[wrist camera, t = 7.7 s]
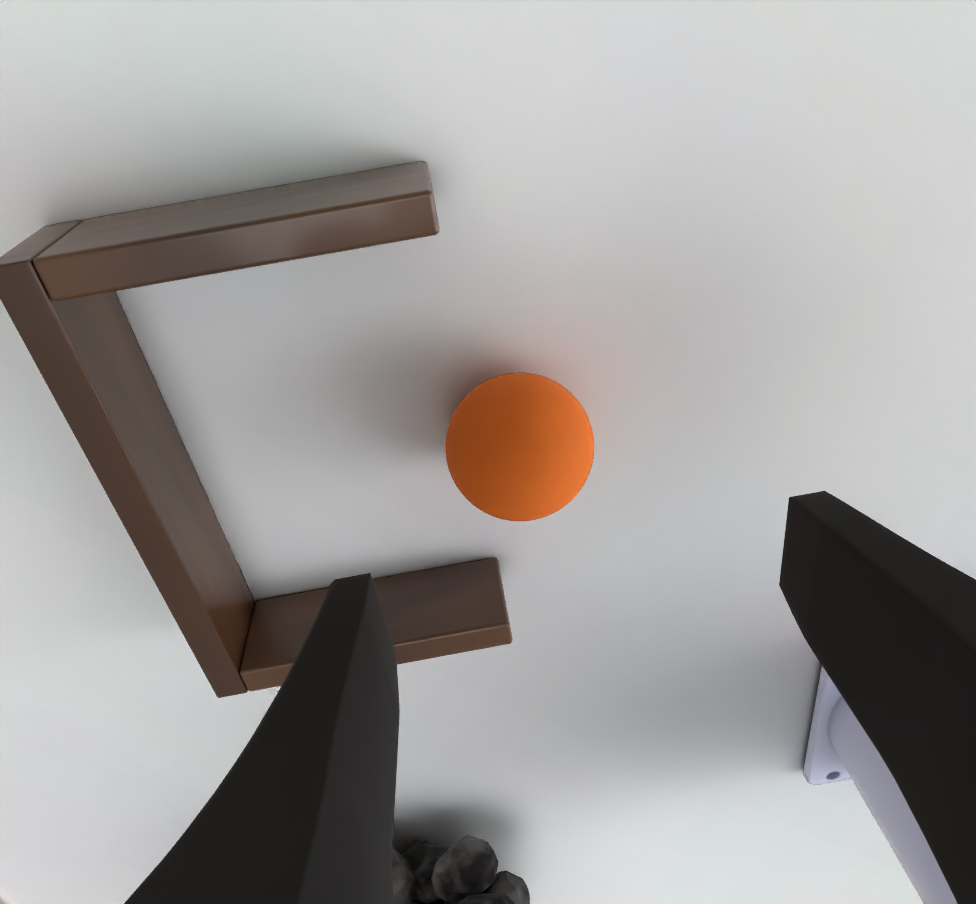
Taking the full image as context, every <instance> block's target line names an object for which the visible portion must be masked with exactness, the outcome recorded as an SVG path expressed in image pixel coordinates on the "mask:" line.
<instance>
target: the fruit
mask: <svg viewBox="0 0 976 904" xmlns="http://www.w3.org/2000/svg"><path fill="white" fill-rule="evenodd" d="M497 867H498V860H497V857H496V855H495V853H494V851H493V849H492V848H491V846H490V845H489V843H488V842H486V841H484V840H481V839H478V838H475V837H472V836H469V835H468V836H466V837H465V838H463V839H461V840H460V841H458V842H456V843H455V844H453V845H452V846H450V847H449V848H448V849H447V850H446V851H445V852H444V850H443V848H441V847H438V846H436V845H434V844H431V843H429V842H427V841H423V840H419V841H418V842H417V843H415V844H414V845H413V846H412V847H410V848H409V849H408V850H406V851H405V852H404V853H403V854H402V855H401V854H400V853H399V852H398V851H397V850H396V849H395V848H394V847H393V846H392V884H393V904H530V895H529V891H528V888H527V885H526V884H525V882H524V881H523V879H522V878H520V877H518V876H516V875H514V874H512V873H510V872H508V871H501V872H498V873H497ZM496 873H497V874H496Z"/></svg>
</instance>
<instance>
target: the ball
mask: <svg viewBox="0 0 976 904" xmlns="http://www.w3.org/2000/svg"><path fill="white" fill-rule="evenodd" d="M445 448H446V459H447V464H448V468H449V471H450V473H451V476H452V478H453V480H454V482H455V484H456V486H457V487H458V489H459V490H460V492H461V493H462V494H463V495H464V496H465V497H466V499H467V500H468V501H470V502H471V503H472V504H473V505H474V506H476V507H477V508H478V509H480V510H482V511H483V512H485V513H487V514H489V515H492V516H494V517H497V518H500V519H505V520H510V521H530V520H535V519H539V518H543V517H546V516H548V515H550V514H552V513H555V512H556V511H558V510H560V509H561V508H563V507H564V506H565V505H567V504H568V503H569V502H570V501H571V500H572V499H573V498H574V497H575V496H576V495H577V494H578V492H579V491H580V490H581V488H582V487H583V485H584V483H585V482H586V480H587V478H588V475H589V472H590V469H591V466H592V462H593V456H594V438H593V432H592V427H591V425H590V422H589V419H588V416H587V414H586V413H585V411H584V409H583V407H582V406H581V404H580V403H579V402H578V400H577V399H576V398H575V397H574V396H573V395H572V394H571V393H570V392H569V391H568V390H567V389H566V388H564V387H563V386H562V385H560V384H558V383H557V382H555V381H553V380H551V379H549V378H546V377H543V376H540V375H536V374H530V373H509V374H504V375H500V376H497V377H494V378H491V379H489V380H487V381H485V382H483V383H481V384H480V385H478V386H477V387H475V388H474V389H473V390H472V391H470V392H469V393H468V394H467V395H466V396H465V397H464V399H463V400H462V401H461V402H460V404H459V405H458V407H457V408H456V410H455V412H454V414H453V416H452V418H451V420H450V423H449V426H448V430H447V435H446V445H445Z"/></svg>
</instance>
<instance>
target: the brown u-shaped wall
mask: <svg viewBox="0 0 976 904" xmlns="http://www.w3.org/2000/svg"><path fill="white" fill-rule="evenodd" d="M438 233H439V223H438V218H437V212H436V206H435V201H434V195H433V190H432V185H431V179H430V174H429V169H428V165H427V163H426V162H424V161H420V162H414V163H408V164H402V165H396V166H391V167H385V168H379V169H373V170H368V171H362V172H356V173H350V174H344V175H339V176H333V177H327V178H321V179H316V180H310V181H304V182H298V183H292V184H287V185H281V186H275V187H269V188H264V189H258V190H252V191H246V192H240V193H235V194H229V195H223V196H217V197H212V198H206V199H200V200H194V201H188V202H183V203H177V204H171V205H165V206H160V207H154V208H148V209H142V210H136V211H131V212H125V213H119V214H113V215H108V216H102V217H96V218H90V219H86V220H84V221H82V220H76V221H70V222H65V223H59V224H53V225H47V226H44V227H43V228H41V229H40V230H38V231H37V232H36V233H34V234H33V235H31V236H30V237H28V238H27V239H26V240H24V241H23V242H21V243H20V244H18V245H17V246H15V247H14V248H13V249H11V250H10V251H8V252H7V253H5V254H4V255H3V256H1V257H0V299H1V301H2V303H3V305H4V306H5V308H6V310H7V312H8V314H9V316H10V317H11V319H12V321H13V323H14V325H15V327H16V328H17V330H18V332H19V334H20V336H21V338H22V339H23V341H24V343H25V345H26V347H27V349H28V351H29V352H30V354H31V356H32V358H33V360H34V362H35V363H36V365H37V367H38V369H39V371H40V373H41V374H42V376H43V378H44V380H45V382H46V384H47V385H48V387H49V389H50V391H51V393H52V395H53V396H54V398H55V400H56V402H57V404H58V406H59V407H60V409H61V411H62V413H63V415H64V417H65V418H66V420H67V422H68V424H69V426H70V428H71V429H72V431H73V433H74V435H75V437H76V439H77V440H78V442H79V444H80V446H81V448H82V450H83V451H84V453H85V455H86V457H87V459H88V461H89V462H90V464H91V466H92V468H93V470H94V472H95V473H96V475H97V477H98V479H99V481H100V483H101V484H102V486H103V488H104V490H105V492H106V494H107V495H108V497H109V499H110V501H111V503H112V505H113V506H114V508H115V510H116V512H117V514H118V516H119V518H120V519H121V521H122V523H123V525H124V527H125V529H126V530H127V532H128V534H129V536H130V538H131V540H132V541H133V543H134V545H135V547H136V549H137V551H138V552H139V554H140V556H141V558H142V560H143V562H144V563H145V565H146V567H147V569H148V571H149V573H150V574H151V576H152V578H153V580H154V582H155V584H156V585H157V587H158V589H159V591H160V593H161V595H162V596H163V598H164V600H165V602H166V604H167V606H168V607H169V609H170V611H171V613H172V615H173V617H174V618H175V620H176V622H177V624H178V626H179V628H180V629H181V631H182V633H183V635H184V637H185V639H186V640H187V642H188V644H189V646H190V648H191V650H192V651H193V653H194V655H195V657H196V659H197V661H198V662H199V664H200V666H201V668H202V670H203V672H204V673H205V675H206V677H207V679H208V681H209V683H210V685H211V686H212V688H213V690H214V692H215V694H216V696H217V697H218V698H221V697H226V696H231V695H237V694H242V693H246V692H247V691H248V690H249V691H255V690H260V689H266V688H271V687H277V686H282V685H283V683H284V681H285V679H286V677H287V675H288V673H289V671H290V669H291V667H292V665H293V663H294V662H295V660H296V658H297V656H298V654H299V652H300V650H301V648H302V646H303V644H304V642H305V640H306V638H307V636H308V634H309V631H310V629H311V627H312V625H313V623H314V621H315V619H316V617H317V614H318V612H319V610H320V608H321V605H322V603H323V601H324V598H325V596H326V594H327V591H328V589H329V588H326V589H320V590H315V591H309V592H304V593H298V594H293V595H287V596H282V597H276V598H271V599H265V600H260V601H256V602H255V603H254V601H253V598H252V596H251V594H250V592H249V590H248V587H247V585H246V583H245V581H244V578H243V576H242V574H241V572H240V570H239V567H238V565H237V563H236V561H235V558H234V556H233V554H232V552H231V549H230V547H229V545H228V543H227V541H226V538H225V536H224V534H223V532H222V529H221V527H220V525H219V523H218V521H217V518H216V516H215V514H214V512H213V509H212V507H211V505H210V503H209V501H208V498H207V496H206V494H205V492H204V489H203V487H202V485H201V483H200V480H199V478H198V476H197V474H196V472H195V469H194V467H193V465H192V463H191V460H190V458H189V456H188V454H187V452H186V449H185V447H184V445H183V443H182V440H181V438H180V436H179V434H178V432H177V429H176V427H175V425H174V423H173V420H172V418H171V416H170V414H169V411H168V409H167V407H166V405H165V403H164V400H163V398H162V396H161V394H160V391H159V389H158V387H157V385H156V383H155V380H154V378H153V376H152V374H151V371H150V369H149V367H148V365H147V363H146V360H145V358H144V356H143V354H142V351H141V349H140V347H139V345H138V342H137V340H136V338H135V336H134V334H133V331H132V329H131V327H130V325H129V322H128V320H127V318H126V316H125V314H124V311H123V309H122V307H121V305H120V302H119V300H118V298H117V296H116V294H115V291H118V290H124V289H130V288H135V287H141V286H147V285H152V284H158V283H164V282H170V281H175V280H181V279H187V278H192V277H198V276H204V275H210V274H215V273H221V272H227V271H233V270H238V269H244V268H250V267H255V266H261V265H267V264H273V263H278V262H284V261H290V260H295V259H301V258H307V257H313V256H318V255H324V254H330V253H336V252H341V251H347V250H353V249H358V248H364V247H370V246H376V245H381V244H387V243H393V242H398V241H404V240H410V239H416V238H421V237H427V236H433V235H436V234H438ZM373 583H374V586H375V590H376V593H377V596H378V599H379V602H380V606H381V609H382V612H383V615H384V618H385V621H386V625H387V628H388V631H389V634H390V637H391V641H392V644H393V647H394V650H395V653H396V662H397V664H402V663H407V662H413V661H418V660H424V659H429V658H435V657H440V656H445V655H451V654H456V653H462V652H467V651H473V650H478V649H484V648H489V647H494V646H500V645H505V644H510V643H511V642H512V635H511V629H510V623H509V618H508V612H507V607H506V601H505V596H504V590H503V585H502V580H501V574H500V569H499V563H498V560H497V559H496V558H491V559H485V560H480V561H474V562H469V563H463V564H458V565H452V566H447V567H441V568H436V569H430V570H425V571H419V572H414V573H408V574H403V575H397V576H392V577H386V578H381V579H375V580H373Z"/></svg>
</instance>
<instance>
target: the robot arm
mask: <svg viewBox="0 0 976 904" xmlns="http://www.w3.org/2000/svg"><path fill="white" fill-rule="evenodd" d="M779 585H780V588H781V590H782V592H783V594H784V596H785V599H786V601H787V603H788V605H789V607H790V609H791V612H792V614H793V616H794V618H795V620H796V622H797V624H798V626H799V628H800V630H801V632H802V634H803V636H804V638H805V639H806V641H807V643H808V644H809V646H810V647H811V649H812V651H813V652H814V654H815V655H816V657H817V658H818V660H819V662H820V663H821V665H822V668H821V674H820V679H819V685H818V691H817V696H816V702H815V708H814V713H813V719H812V725H811V730H810V736H809V742H808V748H807V753H806V759H805V765H804V770H803V774H804V776H805V778H806V780H807V782H808V783H809V784H813V785H820V784H825V783H830V782H836V781H841V780H846V779H852V780H853V782H854V784H855V785H856V787H857V789H858V791H859V792H860V794H861V796H862V798H863V799H864V801H865V803H866V805H867V806H868V808H869V810H870V811H871V813H872V815H873V817H874V818H875V820H876V822H877V824H878V825H879V827H880V829H881V830H882V832H883V834H884V836H885V837H886V839H887V841H888V843H889V844H890V846H891V848H892V850H893V851H894V853H895V855H896V856H897V858H898V860H899V862H900V863H901V865H902V867H903V869H904V870H905V872H906V874H907V876H908V877H909V879H910V881H911V882H912V884H913V886H914V888H915V889H916V891H917V893H918V895H919V896H920V898H921V900H922V902H923V903H924V904H976V580H975V579H973V578H972V577H970V576H968V575H966V574H964V573H963V572H961V571H959V570H957V569H955V568H954V567H952V566H950V565H948V564H946V563H945V562H943V561H941V560H939V559H938V558H936V557H934V556H932V555H931V554H929V553H927V552H926V551H924V550H922V549H921V548H919V547H917V546H915V545H914V544H912V543H910V542H909V541H907V540H905V539H904V538H902V537H900V536H899V535H897V534H895V533H894V532H892V531H891V530H889V529H887V528H886V527H884V526H882V525H881V524H879V523H877V522H876V521H874V520H872V519H871V518H869V517H868V516H866V515H864V514H863V513H861V512H859V511H858V510H856V509H854V508H853V507H851V506H850V505H848V504H846V503H845V502H843V501H841V500H839V499H838V498H836V497H834V496H833V495H831V494H829V493H827V492H825V491H821V492H816V493H810V494H805V495H799V496H794V497H789V503H788V512H787V521H786V530H785V539H784V548H783V557H782V565H781V574H780V583H779ZM398 732H399V693H398V677H397V662H396V653H395V650H394V647H393V644H392V641H391V637H390V634H389V631H388V628H387V625H386V621H385V618H384V615H383V612H382V609H381V606H380V602H379V599H378V596H377V593H376V590H375V586H374V583H373V580H372V577H371V574H370V573H368V574H363V575H357V576H352V577H346V578H341V579H335V580H334V581H333V582H332V584H331V585H330V587H329V589H328V591H327V594H326V596H325V598H324V601H323V603H322V605H321V608H320V610H319V612H318V614H317V617H316V619H315V621H314V623H313V625H312V627H311V629H310V631H309V634H308V636H307V638H306V640H305V642H304V644H303V646H302V648H301V650H300V652H299V654H298V656H297V658H296V660H295V662H294V663H293V665H292V667H291V669H290V671H289V673H288V675H287V677H286V679H285V681H284V683H283V685H282V686H281V688H280V690H279V692H278V694H277V695H276V697H275V699H274V700H273V702H272V704H271V705H270V707H269V709H268V711H267V712H266V714H265V716H264V717H263V719H262V721H261V722H260V724H259V726H258V728H257V729H256V731H255V733H254V734H253V736H252V738H251V739H250V741H249V742H248V744H247V745H246V747H245V748H244V750H243V752H242V753H241V755H240V756H239V758H238V759H237V761H236V762H235V764H234V765H233V767H232V768H231V770H230V771H229V773H228V774H227V775H226V777H225V778H224V780H223V781H222V783H221V784H220V785H219V787H218V788H217V790H216V791H215V793H214V794H213V795H212V797H211V798H210V799H209V801H208V802H207V803H206V805H205V806H204V807H203V809H202V810H201V811H200V813H199V814H198V815H197V816H196V818H195V819H194V820H193V822H192V823H191V824H190V826H189V827H188V828H187V830H186V831H185V832H184V834H183V835H182V836H181V837H180V839H179V840H178V841H177V842H176V844H175V845H174V846H173V847H172V849H171V850H170V851H169V852H168V854H167V855H166V856H165V857H164V858H163V860H162V861H161V862H160V863H159V864H158V866H157V867H156V868H155V869H154V870H153V871H152V872H151V873H150V875H149V876H148V877H147V878H146V879H145V880H144V881H143V883H142V884H141V885H140V886H139V887H138V888H137V889H136V891H135V892H134V893H133V894H132V895H131V896H130V897H129V899H128V900H127V901H126V902H125V903H124V904H393V884H392V843H393V824H394V806H395V788H396V770H397V752H398Z"/></svg>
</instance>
